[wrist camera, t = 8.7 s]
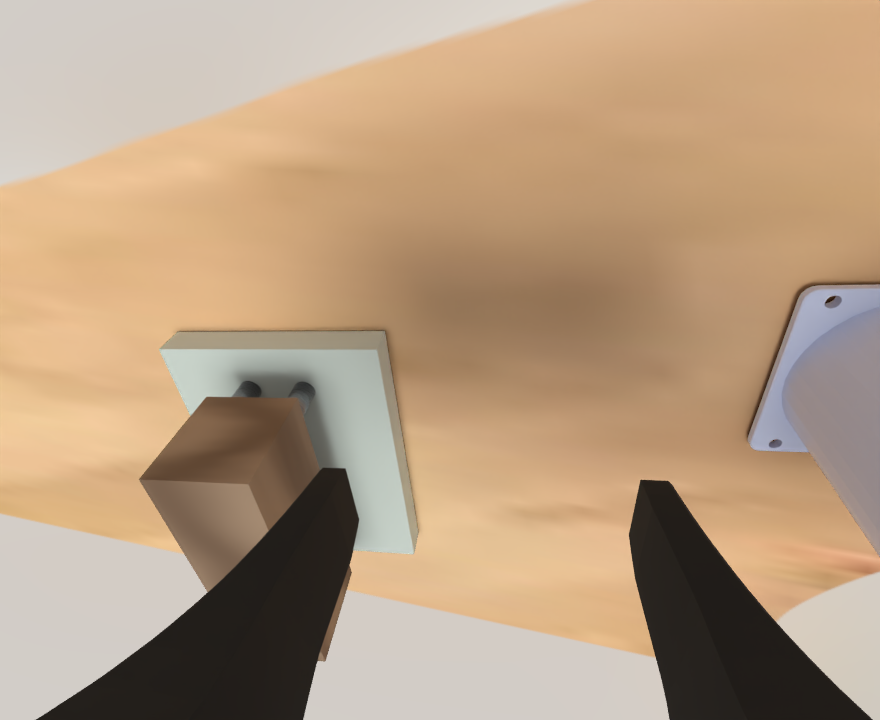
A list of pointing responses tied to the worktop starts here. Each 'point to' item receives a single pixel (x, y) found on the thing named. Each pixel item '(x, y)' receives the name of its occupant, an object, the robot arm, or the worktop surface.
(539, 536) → the worktop surface
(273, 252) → the worktop surface
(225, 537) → the walnut plank
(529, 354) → the worktop surface
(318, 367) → the peg stand
